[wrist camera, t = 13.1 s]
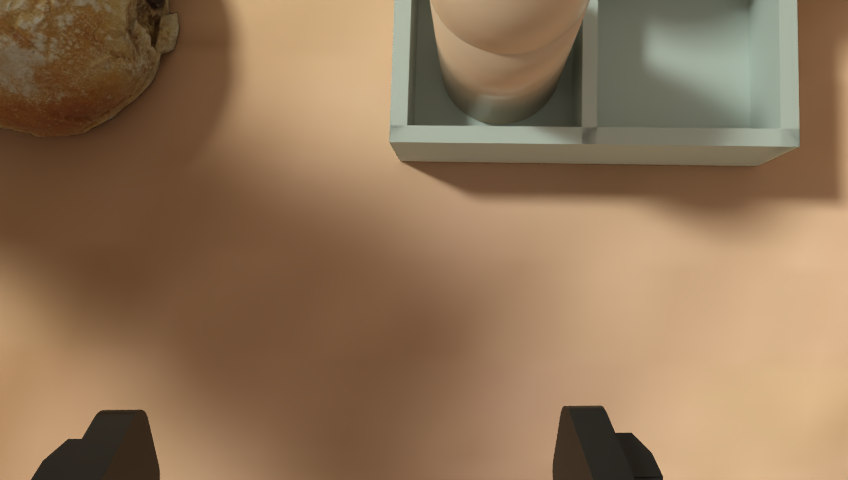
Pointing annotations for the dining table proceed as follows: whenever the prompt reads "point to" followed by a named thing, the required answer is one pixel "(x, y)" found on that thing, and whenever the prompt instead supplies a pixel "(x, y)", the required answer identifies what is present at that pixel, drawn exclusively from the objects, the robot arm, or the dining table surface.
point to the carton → (622, 89)
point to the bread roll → (77, 60)
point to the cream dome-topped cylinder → (504, 53)
